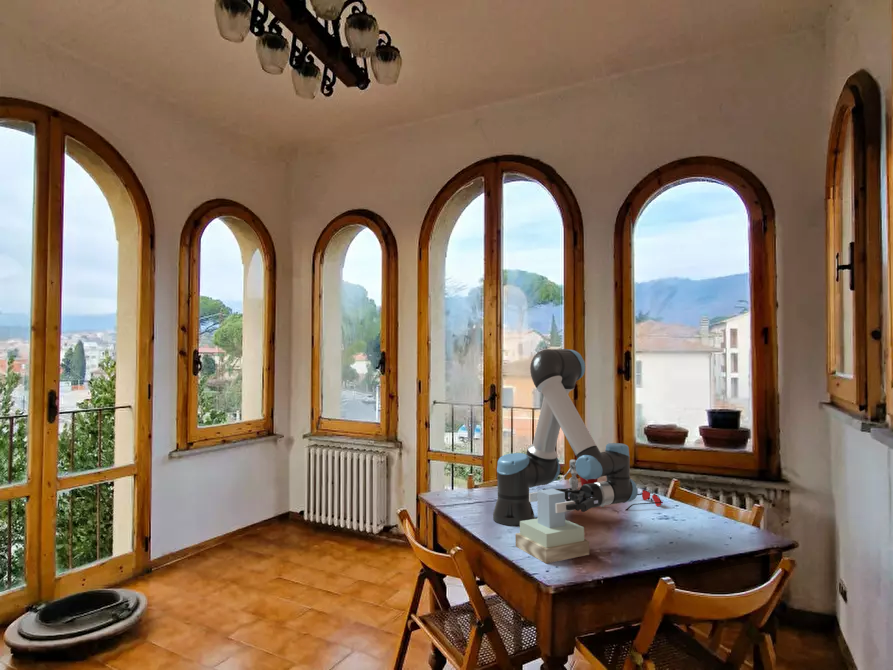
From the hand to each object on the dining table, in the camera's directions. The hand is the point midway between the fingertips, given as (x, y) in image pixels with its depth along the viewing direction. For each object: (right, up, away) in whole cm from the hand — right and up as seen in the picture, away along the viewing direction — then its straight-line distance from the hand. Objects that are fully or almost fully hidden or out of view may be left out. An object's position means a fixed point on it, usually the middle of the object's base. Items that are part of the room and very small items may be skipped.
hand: (542, 502), depth 167 cm
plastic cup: (+35, -18, +77) cm, 86 cm away
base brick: (+3, -15, +1) cm, 15 cm away
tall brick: (+3, -7, +1) cm, 8 cm away
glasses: (+47, -18, +52) cm, 72 cm away
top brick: (+3, -11, +1) cm, 11 cm away
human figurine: (+22, -17, +53) cm, 60 cm away
